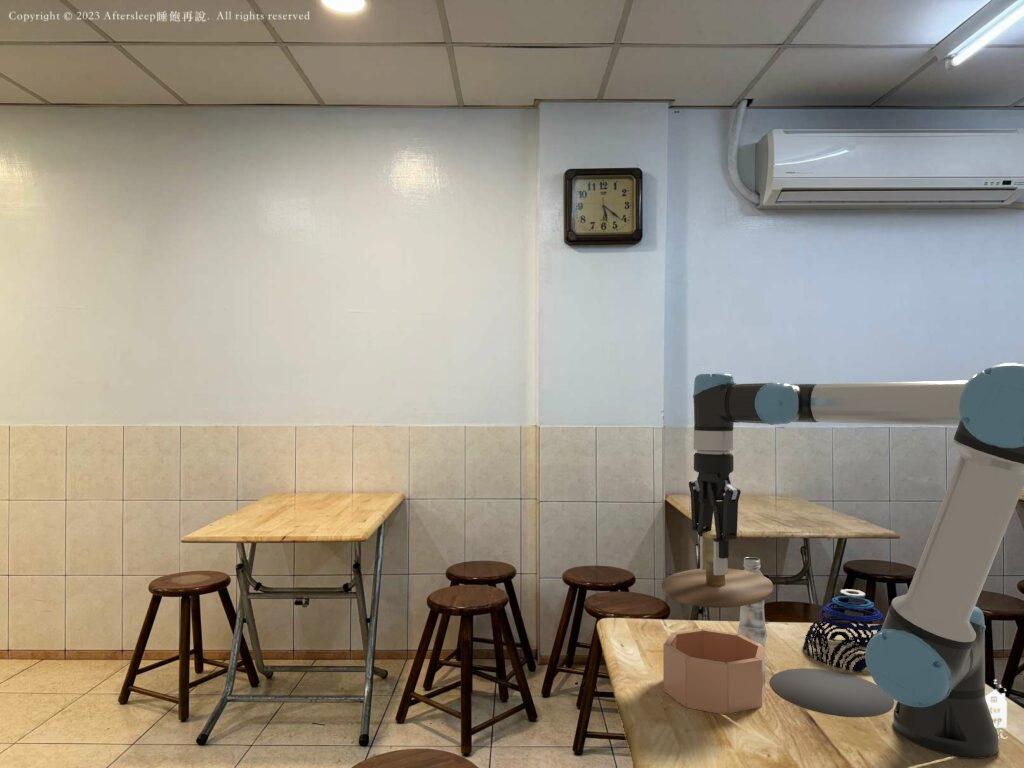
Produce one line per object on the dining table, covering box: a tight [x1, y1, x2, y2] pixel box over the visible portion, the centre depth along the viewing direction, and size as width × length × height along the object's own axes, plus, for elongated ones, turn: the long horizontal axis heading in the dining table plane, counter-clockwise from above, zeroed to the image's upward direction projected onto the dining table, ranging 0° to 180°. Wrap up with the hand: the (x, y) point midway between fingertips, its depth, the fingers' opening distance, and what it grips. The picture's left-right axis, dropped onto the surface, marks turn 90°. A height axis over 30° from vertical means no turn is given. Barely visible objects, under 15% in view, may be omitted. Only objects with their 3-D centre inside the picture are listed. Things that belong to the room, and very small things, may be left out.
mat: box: [769, 667, 895, 718], centre depth 134 cm, size 22×22×1 cm
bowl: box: [662, 628, 766, 716], centre depth 134 cm, size 18×18×9 cm
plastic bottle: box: [737, 556, 768, 646], centre depth 159 cm, size 6×7×20 cm
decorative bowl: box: [803, 588, 885, 673], centre depth 153 cm, size 20×20×14 cm
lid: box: [661, 530, 774, 609], centre depth 135 cm, size 21×21×11 cm
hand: (713, 571), depth 135 cm, fingers closed on lid, 4 cm apart
